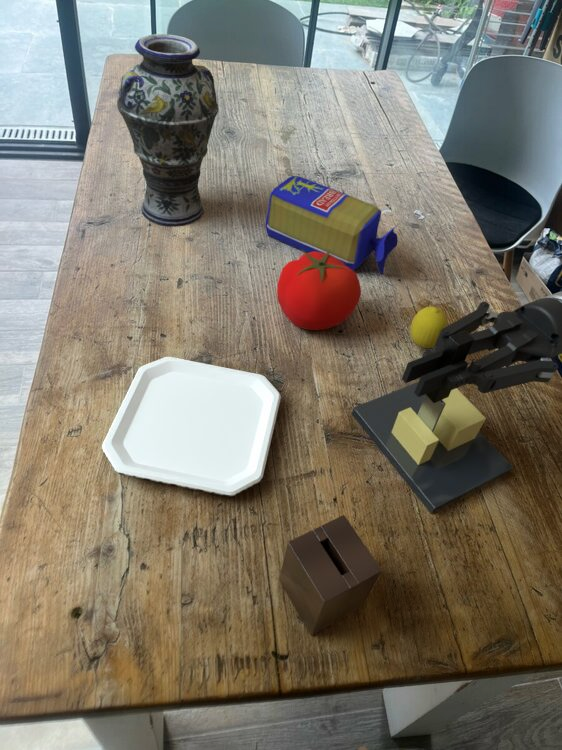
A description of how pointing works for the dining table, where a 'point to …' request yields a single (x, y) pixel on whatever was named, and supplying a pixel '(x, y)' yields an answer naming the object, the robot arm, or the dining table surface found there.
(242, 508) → the dining table surface
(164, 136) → the vase
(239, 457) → the plate
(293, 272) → the tomato
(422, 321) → the lemon
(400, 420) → the butter slice
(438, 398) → the knife
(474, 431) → the butter
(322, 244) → the bread
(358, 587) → the knife block
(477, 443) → the board
